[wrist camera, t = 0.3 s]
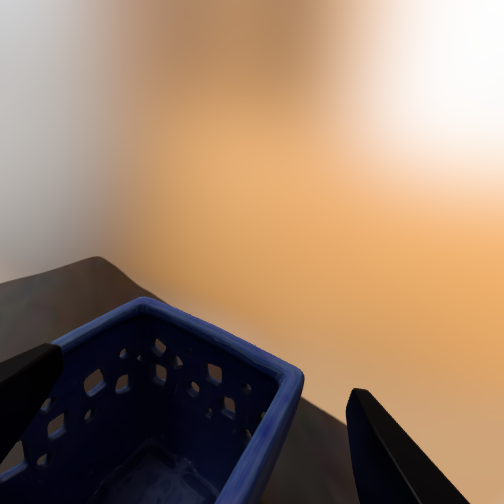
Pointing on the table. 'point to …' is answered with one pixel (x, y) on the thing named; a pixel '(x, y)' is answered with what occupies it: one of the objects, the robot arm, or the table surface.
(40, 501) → the flower pot
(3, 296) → the table surface
